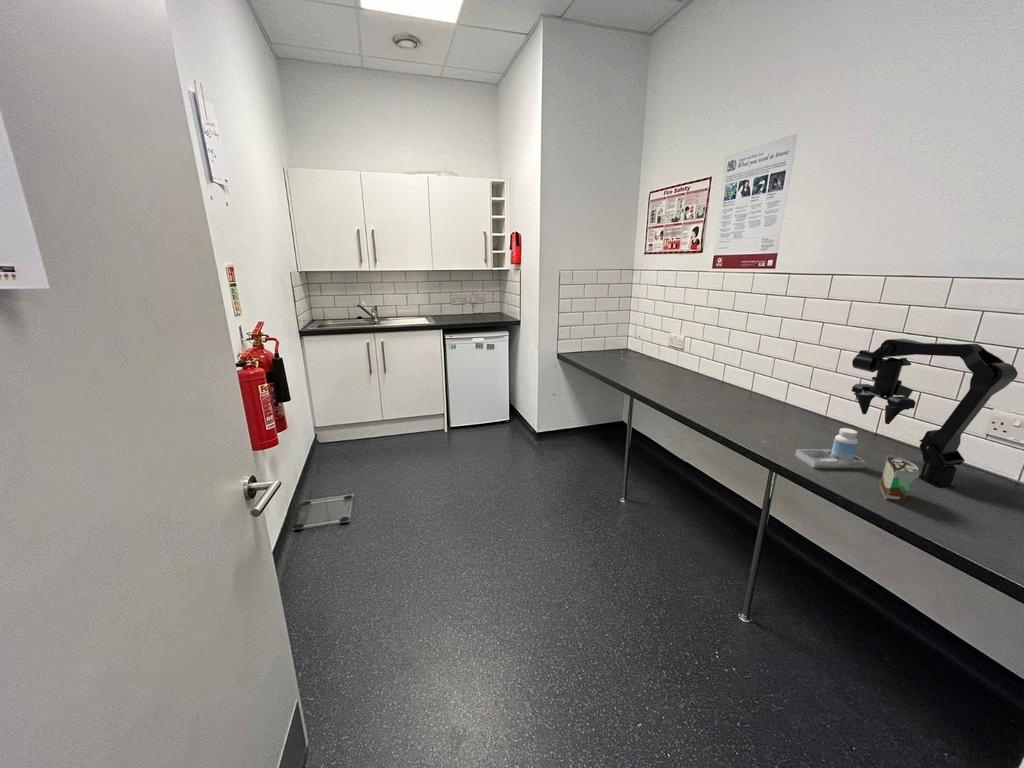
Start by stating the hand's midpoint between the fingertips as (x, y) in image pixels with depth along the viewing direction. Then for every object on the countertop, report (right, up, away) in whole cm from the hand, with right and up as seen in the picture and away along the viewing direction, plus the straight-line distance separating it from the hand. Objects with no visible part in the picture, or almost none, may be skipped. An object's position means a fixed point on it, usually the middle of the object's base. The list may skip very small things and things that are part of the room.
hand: (875, 418), depth 144 cm
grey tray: (-19, -14, -3) cm, 24 cm away
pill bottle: (-15, -14, -3) cm, 21 cm away
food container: (-14, -21, -23) cm, 34 cm away
